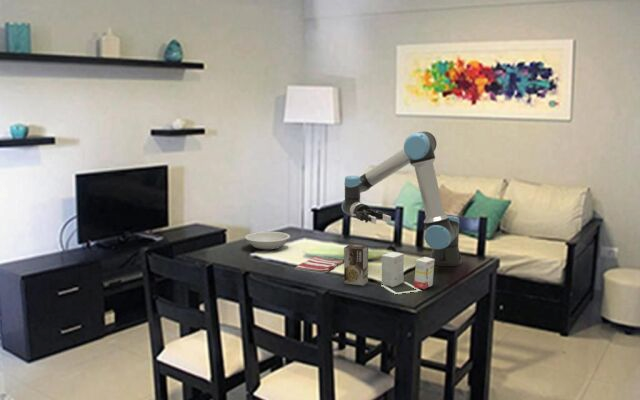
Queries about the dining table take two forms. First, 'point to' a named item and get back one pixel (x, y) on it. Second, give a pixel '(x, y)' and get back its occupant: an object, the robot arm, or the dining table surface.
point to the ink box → (424, 272)
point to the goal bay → (402, 292)
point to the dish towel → (318, 265)
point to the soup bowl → (267, 239)
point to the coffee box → (356, 264)
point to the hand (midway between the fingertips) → (382, 220)
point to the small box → (392, 269)
